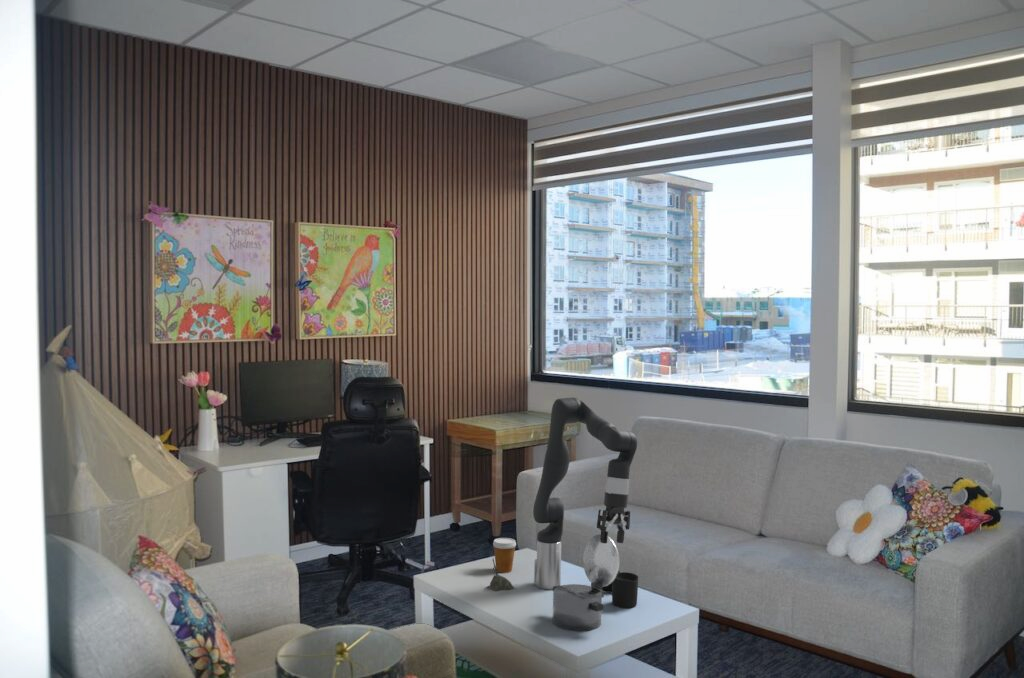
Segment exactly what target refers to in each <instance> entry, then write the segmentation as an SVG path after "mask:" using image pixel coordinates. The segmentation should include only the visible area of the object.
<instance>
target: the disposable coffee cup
mask: <svg viewBox="0 0 1024 678" xmlns="http://www.w3.org/2000/svg"><path fill="white" fill-rule="evenodd" d="M492 545H493V551H494V553H493V554H494V563H495V566H496V570H497V569H498V570H497V573H505V574H506V573H510V572H512V570H513V565H514V564H513V563H514V559H515V550H516V549H515V548H516V546H517V542H516V540H515V539H513V538H510V537H499V538H494V540H493V543H492Z"/></svg>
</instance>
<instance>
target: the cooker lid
mask: <svg viewBox="0 0 1024 678" xmlns="http://www.w3.org/2000/svg"><path fill="white" fill-rule="evenodd" d="M600 536H601V534H595V535H593V536H592V537H591V538H590V539H589V540H588V541H587V543H586V545H585V547H584V551H583V555H582V558H583V559H582V564H583V570H584V574H585V576H586V578H587V579H588V581H589V582H590V584H591V583H592V586H594V587H596V588H598V589H602V587H604V586H608V585H610V584H611V583H612V582H613V581H614V579H615V578H616V576H617V573H618V571H619V569H620V561H621V560H620V553H619V550H618V546H617V544H616V542H615V541H614V540H613V538H612V537H610V536H609V535H608V539H607V543H601V542H600Z"/></svg>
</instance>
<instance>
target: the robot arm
mask: <svg viewBox="0 0 1024 678" xmlns="http://www.w3.org/2000/svg"><path fill="white" fill-rule="evenodd" d="M549 423H550V425H549V433H548V440H547V446H546V451H545V455H544V461H543V466H542V471H541V478H540V480H539V481H540V482H539V486H538V490H537V493H536V496H535V498H534V499H535V500H534V503H533V510H532V511H533V512H532V514H533V520H534V521H535V522H536V523H537V524H548V525H547V526H546V527H545V528H543V529H542V530H540V531H538V532H537V538H536V559H534V567H533V568H534V569H533V570H534V575H533V585H535V586H536V587H537V588H538V589H539V588H540V589H542V590H543V589H544V590H553V587H554V586H559V585H560V586H562V585H561V584H562V583H561V578H562V577H561V576H562V537H563V533H564V532H563V531H564V529H563V528H564V518H565V516H564V515H565V508H564V503H563V500H562V499H561V498H560V497H551V495H552V493H553V491H554V490H555V489H556V487H557V486H558V485H559V484H560V483H561V482H562V481H563V479H565V477H566V475H567V474H568V470H569V466H570V461H571V454H570V450H569V448H568V445H567V442H566V440H565V438H564V432H565V431H564V430H565V426H566V425H567V424H575V423H576V424H577V423H581V424H584V425H585V426H586V430H587V432H588V433H589V434H590V435H591V436H592V438H593V437H594V438H595V439H597V440H598V441H600V442H601V444H603V446H604V447H605V448H606V449H608V450H609V451H612V452H615V453H619V454H618V457H617V458H613V459H611V460H609V461H608V468H607V474H606V475H607V476H606V480H605V488H604V499H603V505H604V506H605V509H598V514H597V521H596V529H599V531H600V535H601V536H600V542H601V543H607V539H608V536H609V529H610V527H612V526H613V525H615V526H616V528H617V534H616V535H617V536H616V543H618V544H623V543H624V540H625V532H626V531H627V530H630V528H631V527H630V526H631V525H630V524H631V511H630V510H625V509H627V508H628V498H629V489H630V488H629V487H630V483H629V482H630V471H631V469H630V468H631V465H632V462H633V459H634V457H635V454H636V452H637V448H638V439H637V436H636V435H635V433H633V432H632V431H625V430H619V429H617V427H616V425H614V423H611V422H610V421H608V420H607V419H605V418H603V417H602V416H599V415H598V414H597V412H595V411H594V410H592V408H591V407H590V406H588V405H587V404H586V403H585V401H583V400H582V399H580V398H578V397H562V398H557V399H555V400H554V402H553V404H552V407H551V414H550V422H549Z"/></svg>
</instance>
